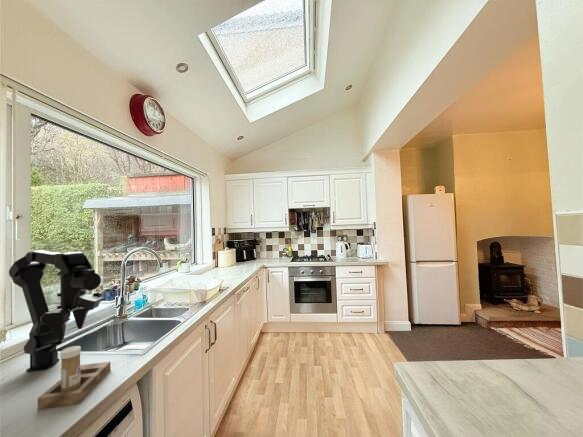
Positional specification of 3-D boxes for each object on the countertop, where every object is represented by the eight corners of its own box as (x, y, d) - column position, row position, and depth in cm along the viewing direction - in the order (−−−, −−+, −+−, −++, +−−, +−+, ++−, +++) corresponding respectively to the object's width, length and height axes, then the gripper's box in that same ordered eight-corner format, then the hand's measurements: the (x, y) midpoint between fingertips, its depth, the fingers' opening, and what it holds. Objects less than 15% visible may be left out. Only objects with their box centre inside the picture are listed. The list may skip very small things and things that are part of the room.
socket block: (37, 409, 69) (37, 398, 69) (77, 374, 86) (77, 365, 86) (79, 403, 71) (79, 392, 71) (110, 370, 88) (110, 361, 88)
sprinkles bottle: (79, 396, 74) (79, 349, 75) (58, 402, 72) (58, 353, 72) (82, 388, 78) (82, 343, 79) (62, 393, 76) (62, 347, 76)
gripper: (79, 294, 81) (79, 344, 80) (111, 281, 99) (111, 322, 99) (39, 296, 79) (38, 347, 78) (79, 283, 97) (79, 324, 97)
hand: (71, 333), depth 88 cm, fingers open, 9 cm apart
